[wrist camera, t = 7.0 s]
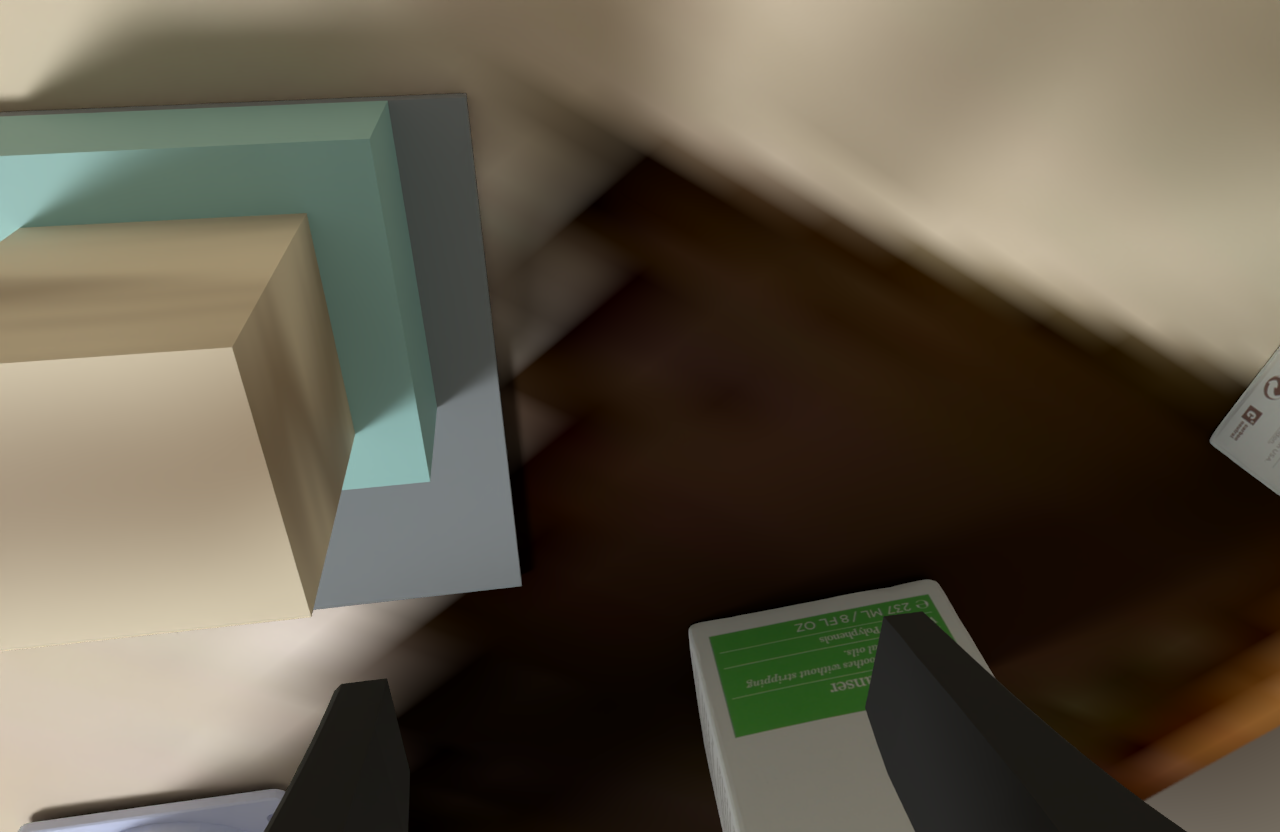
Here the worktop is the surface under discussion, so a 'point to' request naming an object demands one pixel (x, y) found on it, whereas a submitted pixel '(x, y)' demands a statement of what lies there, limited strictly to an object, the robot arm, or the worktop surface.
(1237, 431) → the supplement box
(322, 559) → the maple block
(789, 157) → the worktop surface
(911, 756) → the robot arm
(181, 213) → the plinth
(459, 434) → the mat
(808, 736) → the skincare box
